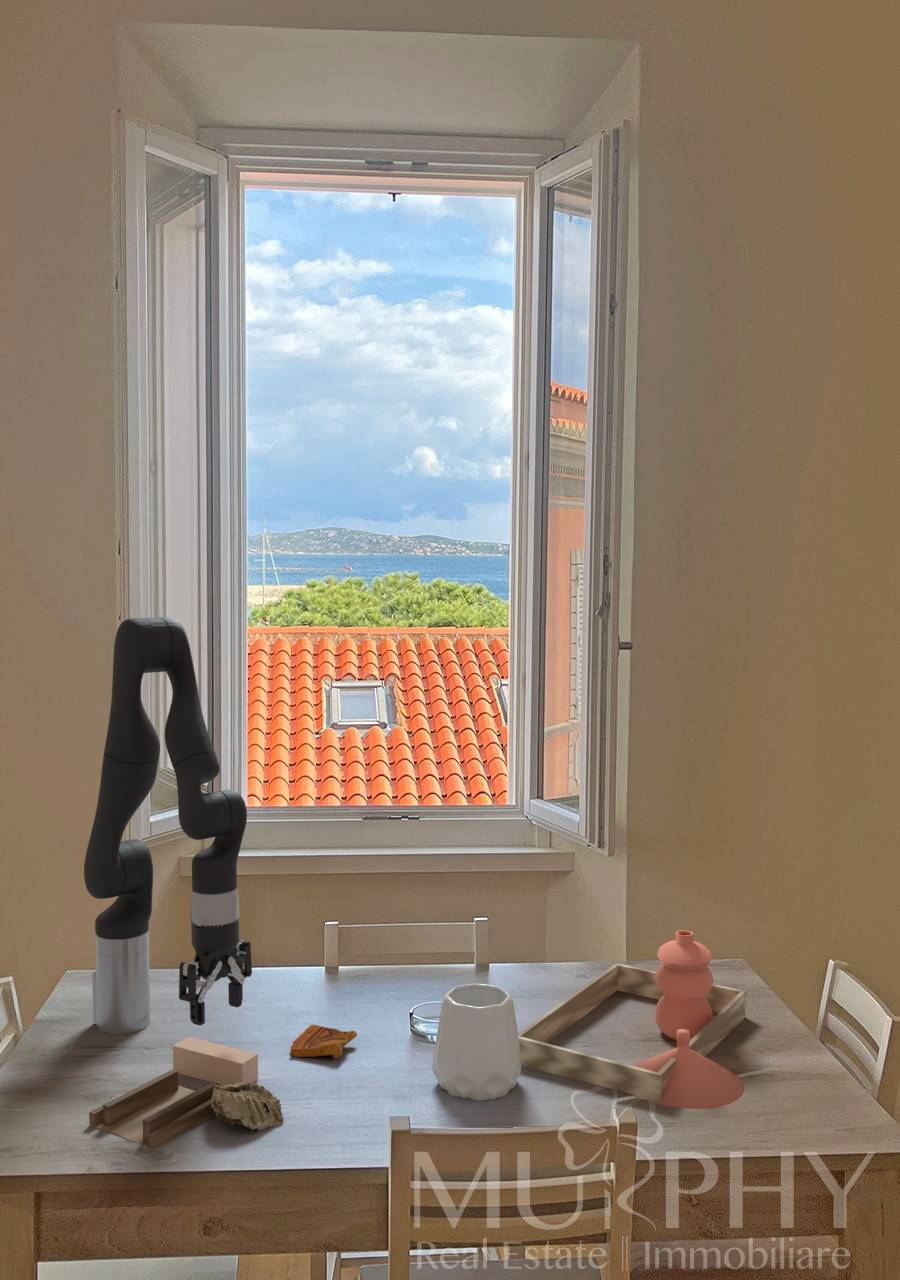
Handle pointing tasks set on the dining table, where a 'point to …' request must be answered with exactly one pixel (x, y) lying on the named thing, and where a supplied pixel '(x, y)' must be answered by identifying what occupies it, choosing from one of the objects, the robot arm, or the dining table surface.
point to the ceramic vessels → (688, 1028)
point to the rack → (154, 1111)
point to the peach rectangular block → (214, 1062)
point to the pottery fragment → (321, 1042)
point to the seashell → (246, 1106)
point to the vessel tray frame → (612, 1072)
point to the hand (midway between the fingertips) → (217, 1014)
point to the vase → (477, 1043)
